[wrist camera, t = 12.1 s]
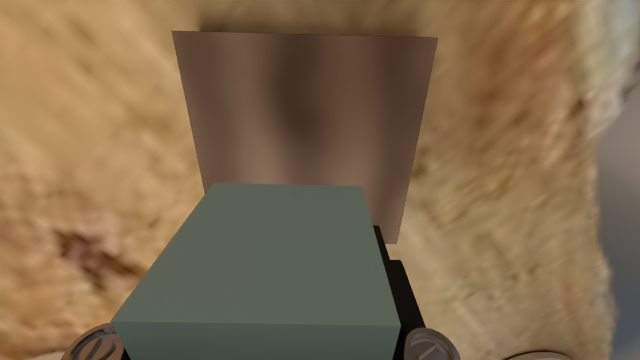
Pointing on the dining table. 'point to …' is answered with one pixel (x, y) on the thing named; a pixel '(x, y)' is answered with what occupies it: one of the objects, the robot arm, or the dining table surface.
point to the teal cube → (266, 281)
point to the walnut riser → (308, 111)
